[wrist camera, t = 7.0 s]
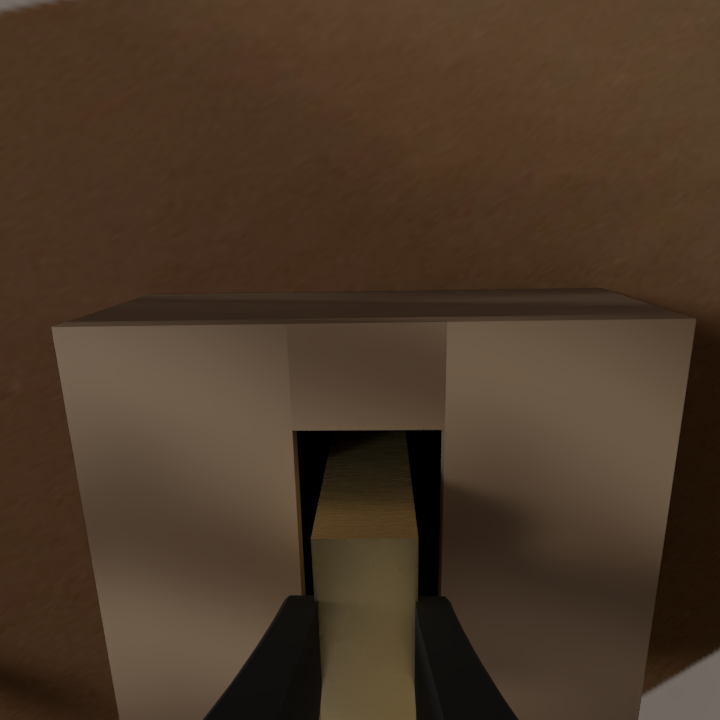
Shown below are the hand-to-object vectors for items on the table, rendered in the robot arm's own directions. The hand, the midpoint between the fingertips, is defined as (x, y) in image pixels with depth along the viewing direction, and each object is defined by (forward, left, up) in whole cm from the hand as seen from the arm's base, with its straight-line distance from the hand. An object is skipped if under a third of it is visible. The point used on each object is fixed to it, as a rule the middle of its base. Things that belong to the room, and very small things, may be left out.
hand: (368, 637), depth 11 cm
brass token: (0, 0, -5) cm, 5 cm away
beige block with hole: (0, 0, -8) cm, 8 cm away
